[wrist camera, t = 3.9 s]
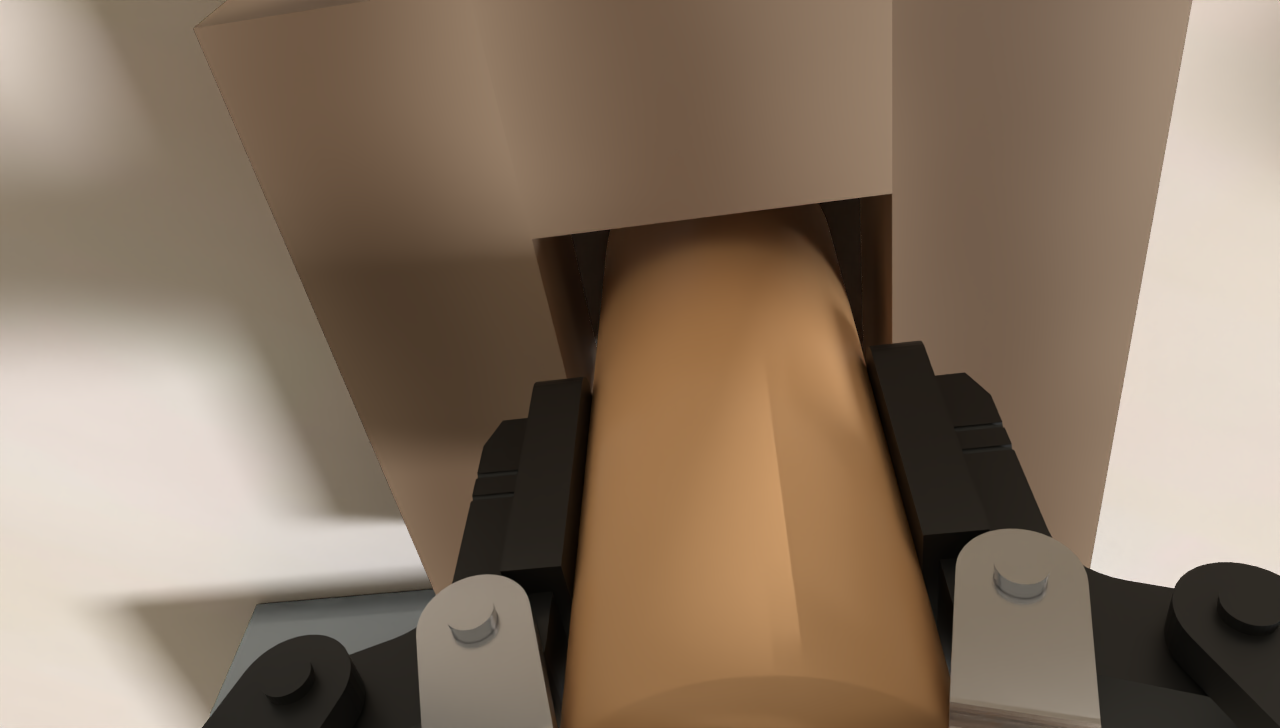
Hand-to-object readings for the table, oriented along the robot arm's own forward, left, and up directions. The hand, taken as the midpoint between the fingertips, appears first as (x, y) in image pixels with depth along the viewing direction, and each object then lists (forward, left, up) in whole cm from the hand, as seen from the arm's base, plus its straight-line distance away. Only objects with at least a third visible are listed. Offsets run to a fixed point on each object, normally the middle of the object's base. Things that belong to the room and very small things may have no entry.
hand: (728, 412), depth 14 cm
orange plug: (0, 0, -4) cm, 4 cm away
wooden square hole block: (0, 0, -4) cm, 4 cm away
